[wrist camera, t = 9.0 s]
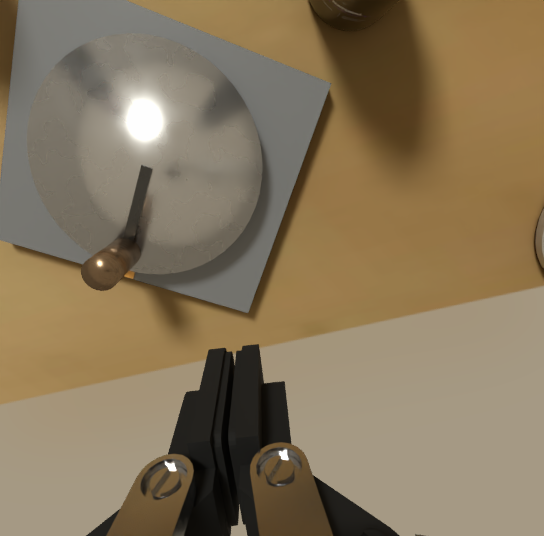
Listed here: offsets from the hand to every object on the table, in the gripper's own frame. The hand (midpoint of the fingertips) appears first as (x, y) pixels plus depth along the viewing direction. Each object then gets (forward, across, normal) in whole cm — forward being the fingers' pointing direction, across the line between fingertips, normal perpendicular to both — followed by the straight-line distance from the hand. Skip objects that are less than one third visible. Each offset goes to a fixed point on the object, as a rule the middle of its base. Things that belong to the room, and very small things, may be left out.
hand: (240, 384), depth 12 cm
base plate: (+21, +7, -6) cm, 23 cm away
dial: (+19, +7, -7) cm, 22 cm away
